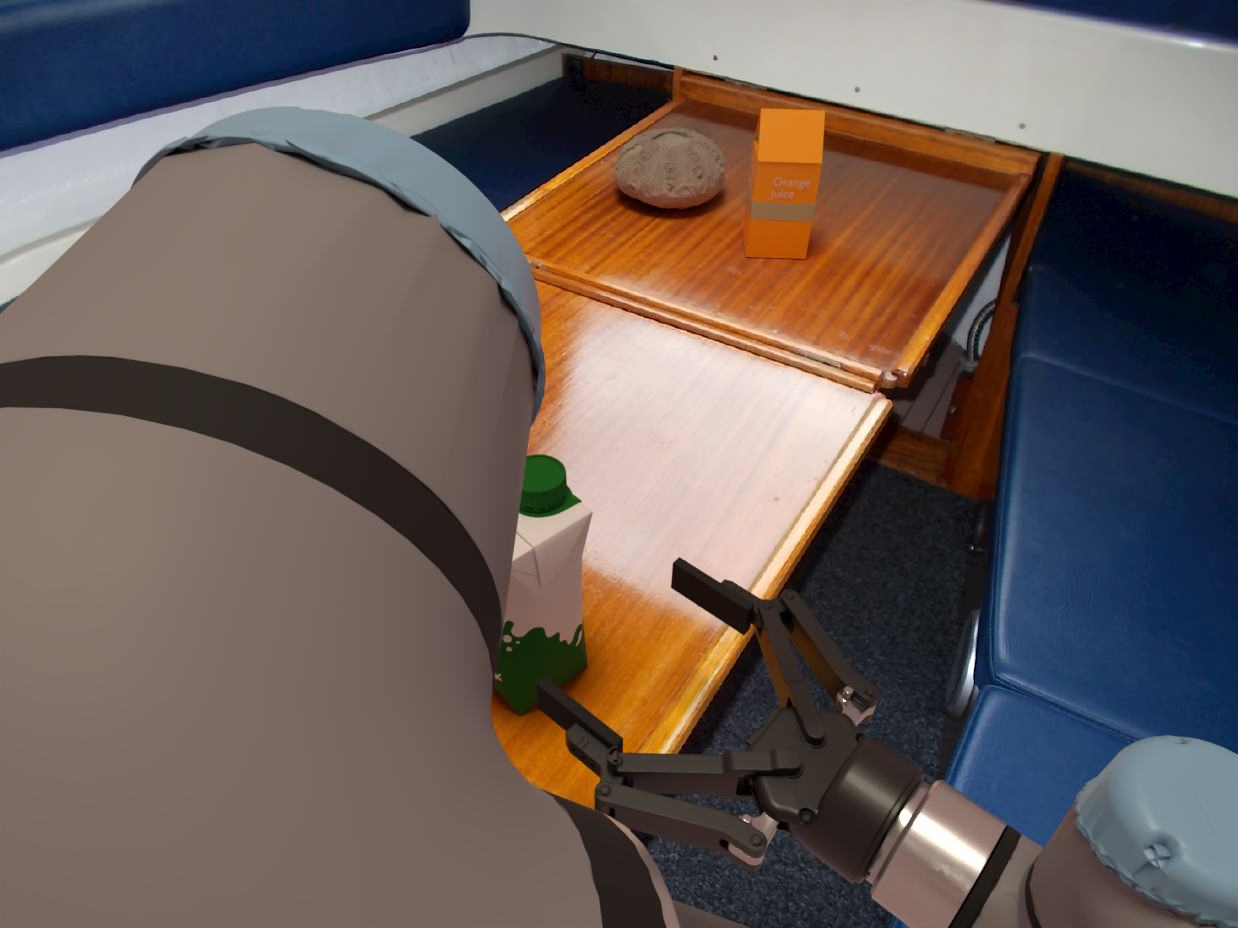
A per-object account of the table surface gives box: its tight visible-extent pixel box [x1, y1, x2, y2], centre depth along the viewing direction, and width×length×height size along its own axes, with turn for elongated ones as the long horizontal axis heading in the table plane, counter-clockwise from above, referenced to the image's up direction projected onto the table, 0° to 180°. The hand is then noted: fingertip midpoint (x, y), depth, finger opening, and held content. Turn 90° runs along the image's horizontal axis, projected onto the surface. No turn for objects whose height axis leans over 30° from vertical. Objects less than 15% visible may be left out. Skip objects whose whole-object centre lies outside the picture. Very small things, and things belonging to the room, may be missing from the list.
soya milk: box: [493, 453, 594, 717], centre depth 65 cm, size 9×9×20 cm
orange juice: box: [742, 107, 826, 259], centre depth 122 cm, size 8×9×20 cm
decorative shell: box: [613, 126, 727, 210], centre depth 137 cm, size 18×18×10 cm
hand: (612, 628), depth 58 cm, fingers open, 13 cm apart
